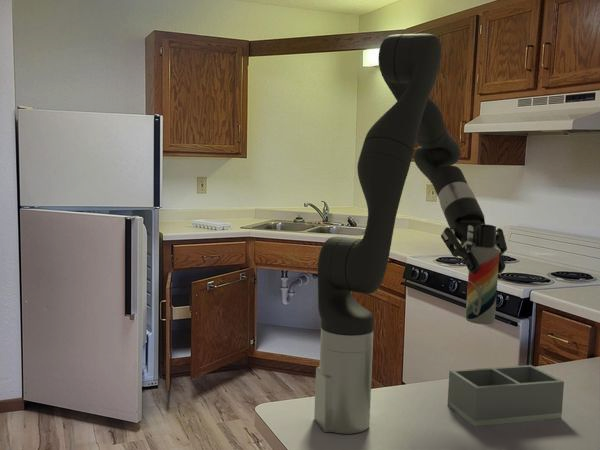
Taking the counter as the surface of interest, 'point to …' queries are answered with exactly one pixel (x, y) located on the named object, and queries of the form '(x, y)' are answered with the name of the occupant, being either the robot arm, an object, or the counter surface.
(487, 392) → the box
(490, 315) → the lotion bottle
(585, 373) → the counter surface
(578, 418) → the counter surface
